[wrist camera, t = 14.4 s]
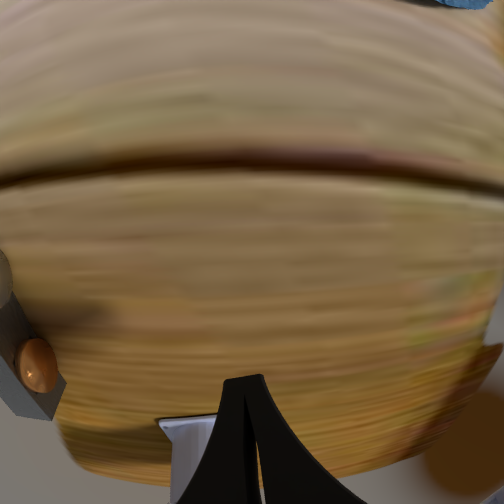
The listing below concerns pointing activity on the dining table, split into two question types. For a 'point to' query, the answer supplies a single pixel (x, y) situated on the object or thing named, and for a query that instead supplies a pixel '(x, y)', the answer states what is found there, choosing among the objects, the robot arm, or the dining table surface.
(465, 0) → the decorative plate
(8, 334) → the block
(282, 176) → the dining table surface
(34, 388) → the pin
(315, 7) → the dining table surface
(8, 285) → the pin
